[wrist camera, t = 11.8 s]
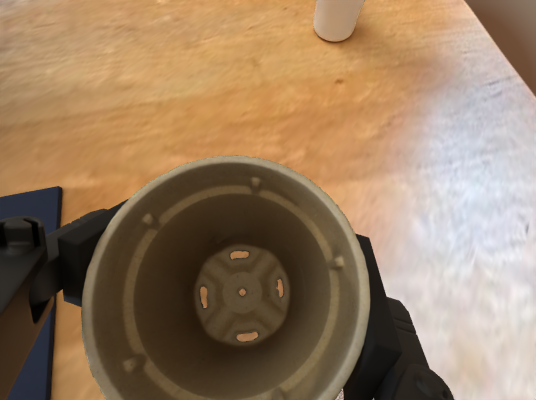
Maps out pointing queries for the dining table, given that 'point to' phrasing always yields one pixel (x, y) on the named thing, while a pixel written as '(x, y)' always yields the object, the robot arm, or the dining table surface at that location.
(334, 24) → the white vase
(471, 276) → the dining table surface
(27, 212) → the placemat
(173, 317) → the flower pot
